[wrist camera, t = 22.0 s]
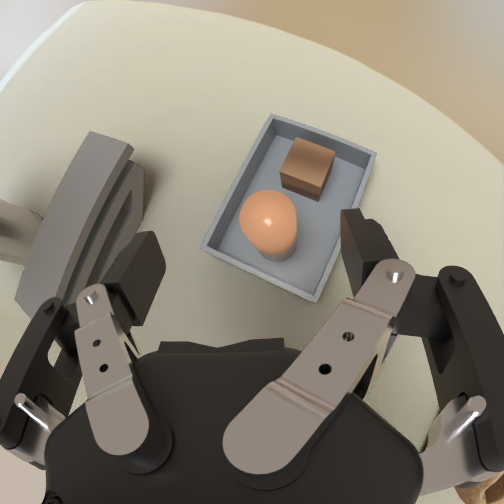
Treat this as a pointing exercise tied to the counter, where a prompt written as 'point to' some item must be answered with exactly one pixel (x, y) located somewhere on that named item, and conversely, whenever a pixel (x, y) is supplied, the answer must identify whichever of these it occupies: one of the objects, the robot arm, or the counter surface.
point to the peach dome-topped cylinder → (270, 224)
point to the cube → (307, 169)
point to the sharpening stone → (84, 223)
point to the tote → (307, 210)
